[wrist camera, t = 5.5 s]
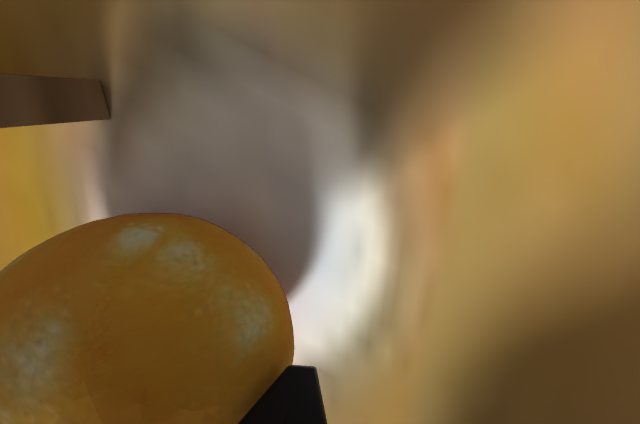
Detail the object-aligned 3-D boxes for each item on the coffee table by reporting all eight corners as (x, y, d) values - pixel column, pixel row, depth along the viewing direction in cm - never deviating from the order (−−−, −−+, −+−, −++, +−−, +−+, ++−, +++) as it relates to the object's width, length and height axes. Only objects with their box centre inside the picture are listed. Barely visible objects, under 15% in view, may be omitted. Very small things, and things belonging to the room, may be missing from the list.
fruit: (206, 473, 13) (71, 829, 5) (37, 354, 13) (-381, 510, 5) (323, 294, 14) (370, 337, 6) (172, 189, 14) (27, 98, 6)
